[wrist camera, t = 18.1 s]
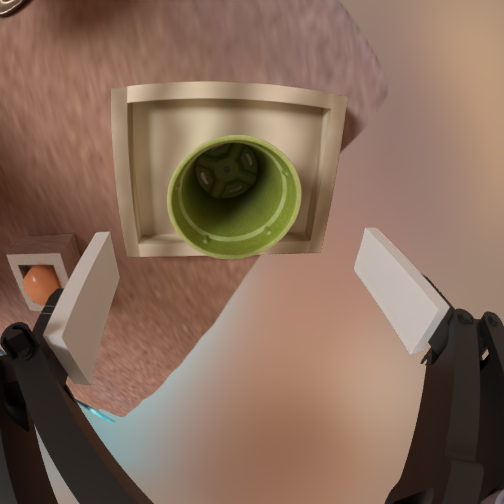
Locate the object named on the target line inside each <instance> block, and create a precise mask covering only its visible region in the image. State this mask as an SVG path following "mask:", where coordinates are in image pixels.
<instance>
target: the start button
mask: <svg viewBox="0 0 504 504" xmlns="http://www.w3.org/2000/svg"><path fill="white" fill-rule="evenodd" d="M23 286H24V289H25V291H26V293H27V295H28V296H29V297H30V298H31V299H32V300H33V301H34V302H35V303H37V304H39V305H42V306H45V304H46V302H47V300H48V298H49V296H50V295H51V294H52V293H53V292H54V291H55V290H56V289H57V288H62V287H61V285H60V282H59V279H58V277H57V274H56V271H55V268H54V265H33V266H32V267H31V269H30V270H29V272H28V273H27V275H26V276H25V278H24V280H23Z"/></svg>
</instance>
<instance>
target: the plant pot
mask: <svg viewBox="0 0 504 504" xmlns="http://www.w3.org/2000/svg"><path fill="white" fill-rule="evenodd" d="M221 144H224V147H222V148H219V149H216V150H214V151H212V152H211V149H212V148H213V147H215V146H217V145H221ZM246 153H247V154H249V155H250V157H251V159H252V162H253V163H252V166H250V165H249V161H248V159H247V157H246V155H245V154H246ZM225 167H228V168H229V172H225V170H224V169H225ZM202 172H204V175H205V178H206V180H207V181H208V184H205V182H204V180H203V179H202V178H201V173H202ZM238 186H242V188H241V189H240V190H239V191H236V192H231V193H230V192H229V190H231V189H234V188H237V187H238ZM300 205H301V184H300V180H299V177H298V174H297V171H296V169H295V167H294V166H293V164H292V162H291V161H290V160H289V159H288V157H287V156H286V155H285V154H284V153H283V152H282V151H280V150H279V149H278V148H277V147H275V146H274V145H272V144H270V143H269V142H267V141H264V140H262V139H259V138H256V137H252V136H247V135H226V136H221V137H217V138H214V139H211V140H209V141H207V142H204V143H203V144H201V145H199V146H198V147H196V148H195V149H193V150H192V151H191V152H190V153H189V154H188V155H187V156H186V157H185V158H184V159H183V160H182V161H181V163H180V164H179V165H178V167H177V168H176V170H175V172H174V174H173V176H172V178H171V181H170V184H169V188H168V193H167V207H168V213H169V217H170V220H171V222H172V224H173V226H174V228H175V230H176V231H177V233H178V234H179V236H180V237H181V238H182V239H183V240H184V241H185V242H186V243H187V244H188V245H189V246H191V247H192V248H193V249H195V250H196V251H199V252H201V253H203V254H205V255H208V256H211V257H214V258H220V259H241V258H247V257H251V256H253V255H256V254H259V253H261V252H263V251H265V250H267V249H269V248H270V247H272V246H273V245H275V244H276V243H277V242H278V241H279V240H281V239H282V238H283V237H284V236H285V235H286V233H287V232H288V231H289V229H290V228H291V226H292V225H293V223H294V222H295V220H296V217H297V215H298V212H299V209H300Z"/></svg>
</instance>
